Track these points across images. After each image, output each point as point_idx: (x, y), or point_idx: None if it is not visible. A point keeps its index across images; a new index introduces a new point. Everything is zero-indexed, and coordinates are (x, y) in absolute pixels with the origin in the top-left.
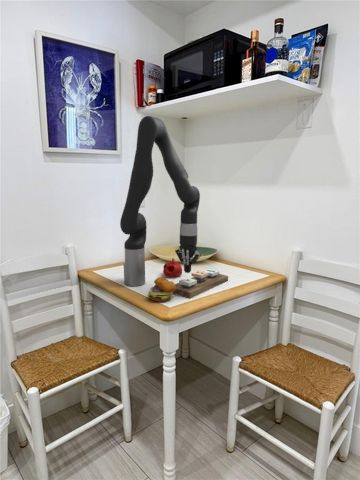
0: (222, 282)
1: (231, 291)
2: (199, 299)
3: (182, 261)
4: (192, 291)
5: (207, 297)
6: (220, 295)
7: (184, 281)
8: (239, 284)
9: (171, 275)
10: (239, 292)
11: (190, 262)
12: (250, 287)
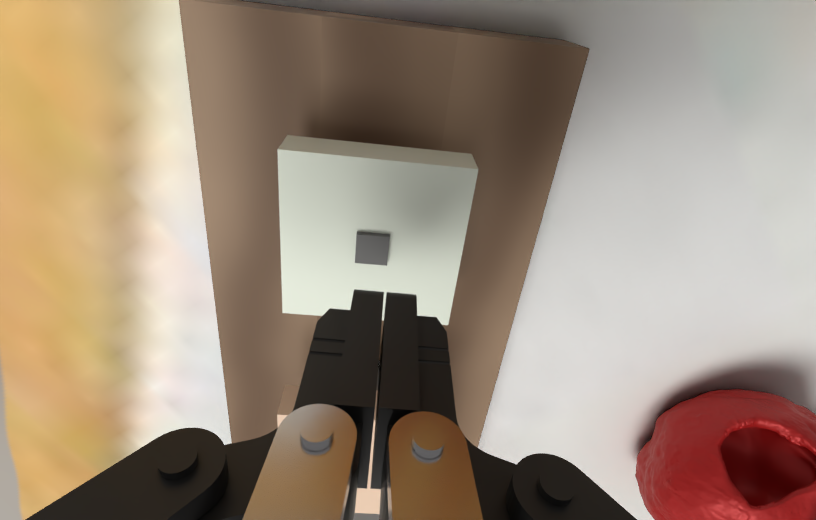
0: None
1: (68, 381)
2: (108, 34)
3: (512, 477)
4: (196, 64)
5: (95, 145)
6: (52, 261)
7: (386, 181)
8: None
9: (711, 404)
10: (5, 393)
11: (193, 478)
12: (41, 497)
